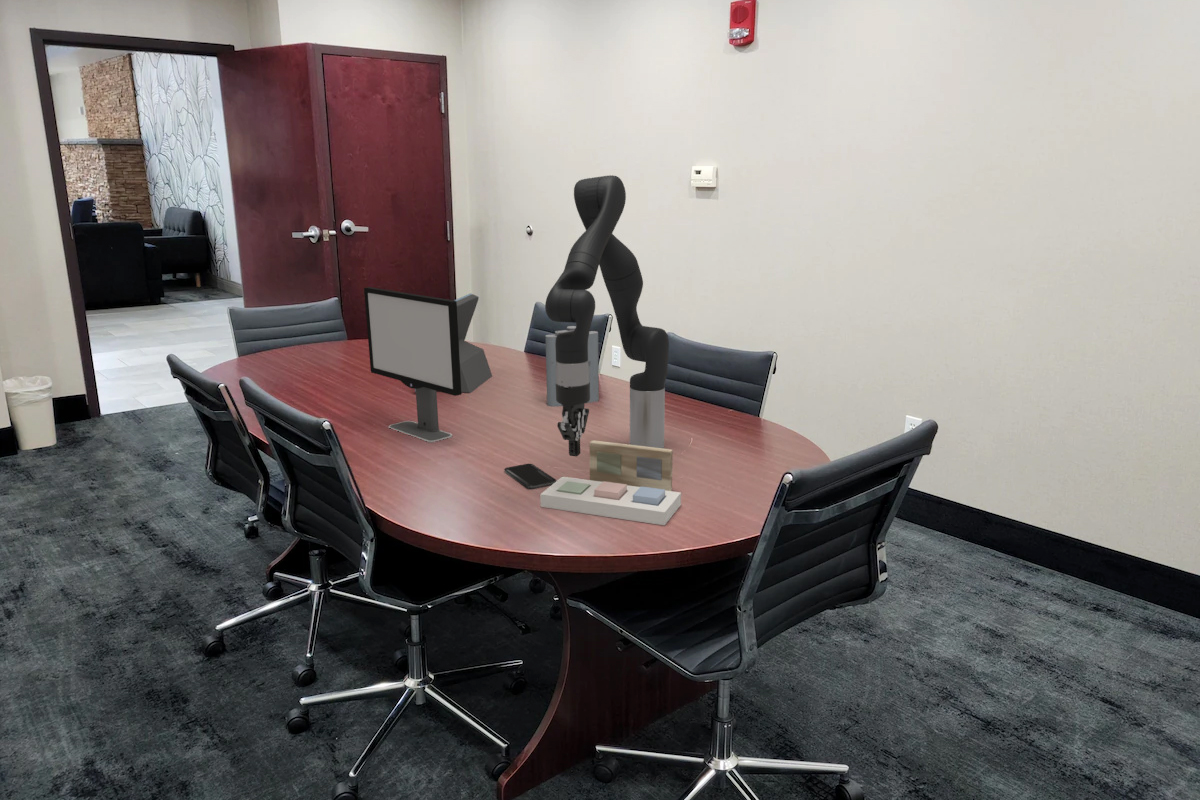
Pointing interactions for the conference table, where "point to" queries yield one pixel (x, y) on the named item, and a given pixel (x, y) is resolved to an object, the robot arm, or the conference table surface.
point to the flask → (552, 364)
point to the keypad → (610, 503)
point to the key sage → (573, 487)
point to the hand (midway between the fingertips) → (574, 455)
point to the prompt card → (631, 465)
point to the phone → (530, 476)
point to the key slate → (649, 496)
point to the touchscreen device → (470, 348)
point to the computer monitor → (415, 351)
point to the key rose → (610, 490)
